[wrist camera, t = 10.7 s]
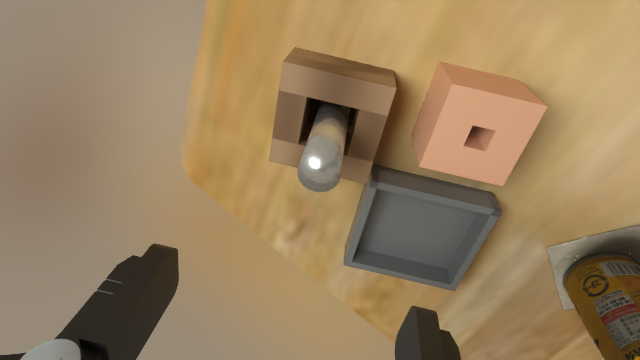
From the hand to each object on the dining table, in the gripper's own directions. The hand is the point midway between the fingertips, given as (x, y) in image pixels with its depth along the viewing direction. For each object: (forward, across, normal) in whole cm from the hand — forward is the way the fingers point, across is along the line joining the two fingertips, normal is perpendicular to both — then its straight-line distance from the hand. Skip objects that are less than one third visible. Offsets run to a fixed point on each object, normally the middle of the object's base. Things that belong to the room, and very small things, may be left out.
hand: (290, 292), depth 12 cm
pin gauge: (+18, 0, 0) cm, 18 cm away
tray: (+18, -9, +8) cm, 21 cm away
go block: (+18, 0, 0) cm, 18 cm away
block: (+18, -9, -2) cm, 20 cm away
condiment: (+18, -26, +9) cm, 33 cm away
